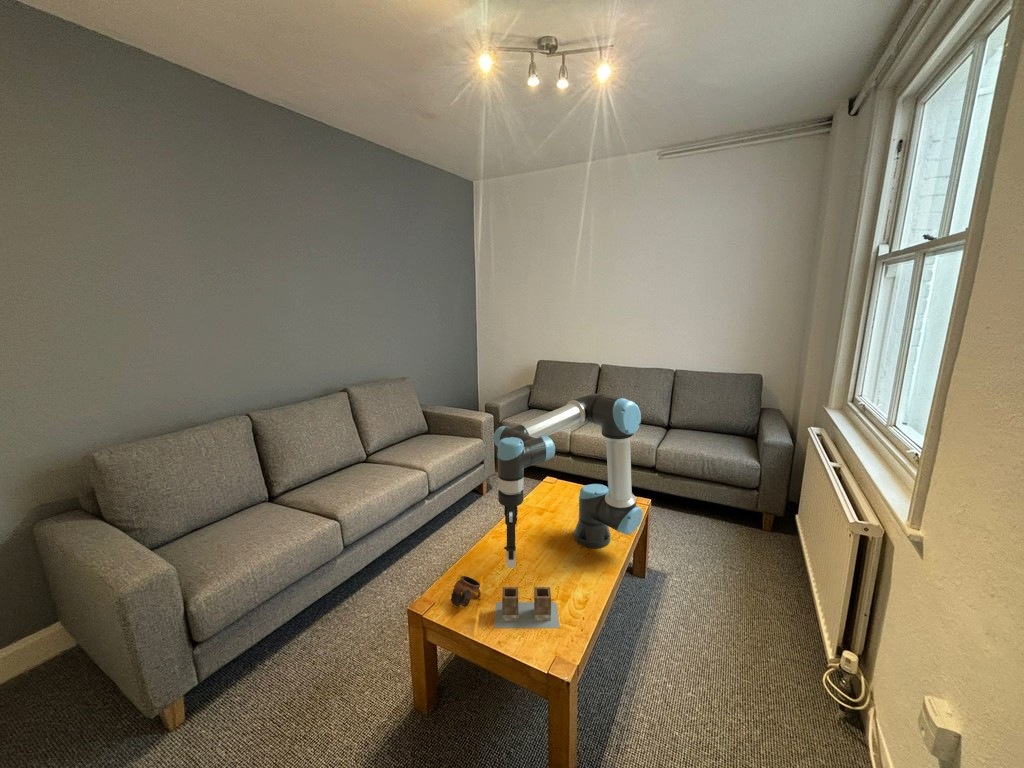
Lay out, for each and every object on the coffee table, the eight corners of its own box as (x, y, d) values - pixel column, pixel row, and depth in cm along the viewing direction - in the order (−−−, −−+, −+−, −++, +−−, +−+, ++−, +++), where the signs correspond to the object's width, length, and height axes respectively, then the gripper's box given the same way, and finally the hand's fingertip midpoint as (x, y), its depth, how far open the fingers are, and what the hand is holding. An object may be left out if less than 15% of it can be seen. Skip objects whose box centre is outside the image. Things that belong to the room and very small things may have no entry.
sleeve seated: (549, 608, 135) (549, 587, 134) (550, 620, 130) (551, 598, 129) (534, 608, 135) (534, 587, 134) (534, 620, 130) (535, 598, 129)
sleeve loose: (518, 608, 135) (518, 587, 134) (518, 620, 130) (518, 598, 129) (502, 608, 135) (502, 587, 134) (502, 620, 130) (502, 598, 129)
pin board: (556, 605, 138) (556, 587, 137) (559, 631, 128) (560, 611, 126) (495, 605, 138) (495, 586, 137) (494, 631, 128) (494, 611, 126)
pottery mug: (447, 595, 144) (456, 571, 145) (472, 603, 146) (481, 579, 147) (451, 611, 132) (461, 585, 134) (478, 619, 134) (488, 594, 136)
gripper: (499, 472, 137) (500, 531, 141) (496, 510, 112) (497, 580, 117) (522, 472, 137) (522, 530, 141) (524, 510, 112) (524, 580, 117)
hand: (511, 553), depth 129 cm, fingers open, 13 cm apart
